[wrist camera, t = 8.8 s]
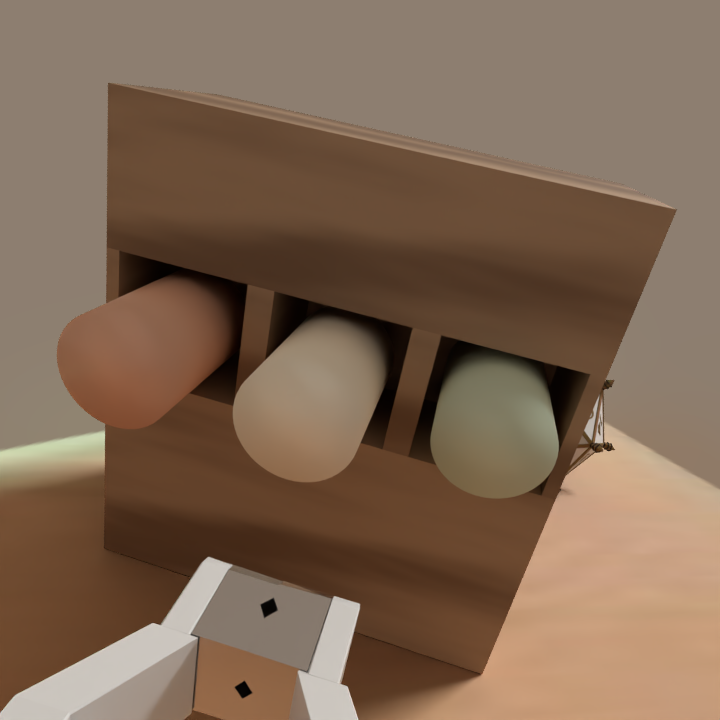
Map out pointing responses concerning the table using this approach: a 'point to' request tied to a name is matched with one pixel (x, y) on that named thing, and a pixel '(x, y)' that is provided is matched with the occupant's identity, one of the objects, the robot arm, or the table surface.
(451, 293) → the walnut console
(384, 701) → the table surface
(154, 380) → the terracotta button
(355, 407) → the cream button
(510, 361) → the sage button
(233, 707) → the robot arm
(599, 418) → the game die
